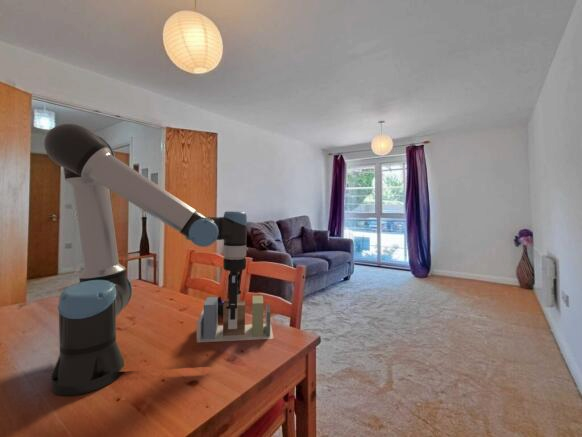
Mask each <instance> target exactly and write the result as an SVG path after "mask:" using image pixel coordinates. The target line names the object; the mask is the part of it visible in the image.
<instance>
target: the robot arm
mask: <svg viewBox="0 0 582 437" xmlns="http://www.w3.org/2000/svg"><path fill="white" fill-rule="evenodd" d="M43 146H44V150H45V152H46V154H47V156H48V157H49V159H50V160H51V161H52V162H54V163H55V164H56V165H58V166H60V167H62V168H63V175H64V180H65V182H66V183H68V184H69V185H71V186H72V187H73V188H72V189H73V196H74V202H75V210H76V217H77V224H78V231H79V239H80V245H81V246H80V247H81V251H82V258H83V265H84V270H82V272H81V273H80V275H79V276H78V278H79V282H78V283H74V284H72V285H70V286H67V287H66V288H65V289H64V290H62V291H61V293H60V295H59V299H58V300H59V301H58V304H57V310H58V330H59V331H58V332H59V335H58V336H59V355H58V358H57V360H56V363H55V365H54V368H53V370H52V373H51V377H50V391H51V392H52V393H53V394H55V395H58V396H63V397H65V396H66V397H68V396H79V395H83V394H88V393H92V392H94V391H97V390H100V389H102V388H104V387H106V386H107V385H111V383H113V382H114V381H115V380H117V379H119V378H120V376H121V375H122V374H123V373H124V371H121V370H122V369H123V368H124V366H125V362H124V360H125V359H124V357H123V354H122V352H121V350H120V348H119V345H118V342H117V317H118V315H119V314H120V313H121V312H122V311H123V310H124V309H125V308H126V307H127V305H128V304H129V302H130V301H131V299H132V298H131V297H132V295H133V285H132V282H131V281H130V279H129V278H128V277H127V271H126V270H127V269H126V267H125V266H124V265H123V264H121V263H120V262H119V261H120V259H119V252H118V245H117V244H118V243H117V239H116V230H115V224H114V214H113V208H112V207H113V206H112V202H111V201H112V200H111V193H110V191H111V192H113V193H115V194H117V195H118V196H120V197H122V198H123V199H125V200H126V201H128V202H129V203H131V204H133V205H134V206H136V207H138V208H139V209H141V210H143V211H144V212H145V213H146V214H149V215H150V216H152V217H153V218H155V219H156V220H158V221H160V222H162V223H164V224H165V225H166V226H169V227H170V228H172V229H173V230H175V231H177V232H178V233H180V234H181V235H183V236H184V237H185V239H186V240H187V241H191V242H192V244H194V245H195V246H197V247H202V248H205V247H206V248H207V247H209V246H211V245H213V244H214V243H215V242H216V241H223V252H222V253H223V255H222V256H223V257H224V258H223V260H222V261H223V264H222V265H223V266H222V267H223V268H222V269H223V270H225V271H227V272H228V271H229V272H230V273H228V277H227V280H228V289H229V290H228V301H229V306H226V309H228V329H237V301H240V295H241V294H242V290H240V283H241V279H242V278H241V276H242V275H241V273H240V271H244V270H246V269H247V259H246V257H247V251H249V247H247V240H248V239H247V236H248V233H247V232H248V222H247V219H248V218H247V217H248V216H247V213H246V212H245V211H230V210H229V211H224V213H223V216H219V217H215V216H214V217H212V216H206V215H204V214H202V213H201V212H199V211H197V210H196V209H195V208H193V207H191V206H190V205H189V204H187V203H186V202H184V201H183V200H181V199H179V198H178V197H176V196H175V195H173V194H172V193H170V192H169V191H167V190H165V189H164V188H163V187H161V186H160V185H159V184H157V183H155V182H153V181H152V180H151V179H149V178H147V177H146V176H145V175H143V174H141V173H140V172H138V171H137V170H136V169H134V168H132V167H131V166H129V165H127V164H126V163H125V162H123V161H121V160H120V159H119V158H117V157H116V155H115V152H114V150H113V148H112V147H111V145H110V144H109V142H107V141H106V140H105V139H104V138H102V137H101V136H99V135H97V134H95V133H94V132H92V131H91V130H90V129H87V128H86V127H83V126H81V125H78V124H74V123H63V124H58V125H56V126H54V127H53V128H51V129H49V131H48V132H47V133H46V135H45V137H44V143H43ZM231 304H235V305H231Z"/></svg>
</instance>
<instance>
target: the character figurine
mask: <svg viewBox="0 0 582 437" xmlns="http://www.w3.org/2000/svg"><path fill="white" fill-rule="evenodd" d="M224 301H225V300H223V299H222V297H221V296H219V297H218V315H220V316H223V305H224Z"/></svg>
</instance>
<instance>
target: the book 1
mask: <svg viewBox="0 0 582 437" xmlns="http://www.w3.org/2000/svg"><path fill="white" fill-rule="evenodd" d="M218 298H219V297H218V296H207V297H206V300H205V301H204V304H203V310H204V339H215V336H216V332H217V328H218V326H219V323H218V320H219V318H218V315H219V314H218Z"/></svg>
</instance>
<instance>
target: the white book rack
mask: <svg viewBox="0 0 582 437" xmlns="http://www.w3.org/2000/svg"><path fill="white" fill-rule="evenodd" d="M199 315H200V316H199V318H198V320H197V322H196V343H211V342H215V343H216V342H233V341H234V342H235V341H251V340H254V341H255V340H272V339H274V338H275V337H274V333H273V329H272V328H273V327H272V323H270V336H267V332H266V323H263V336H258V337H252V323H249V324H245V335H229V336H223V325H218V328H217V332H216V336H215V339H204V309H202V311H201V313H200V314H199Z"/></svg>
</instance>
